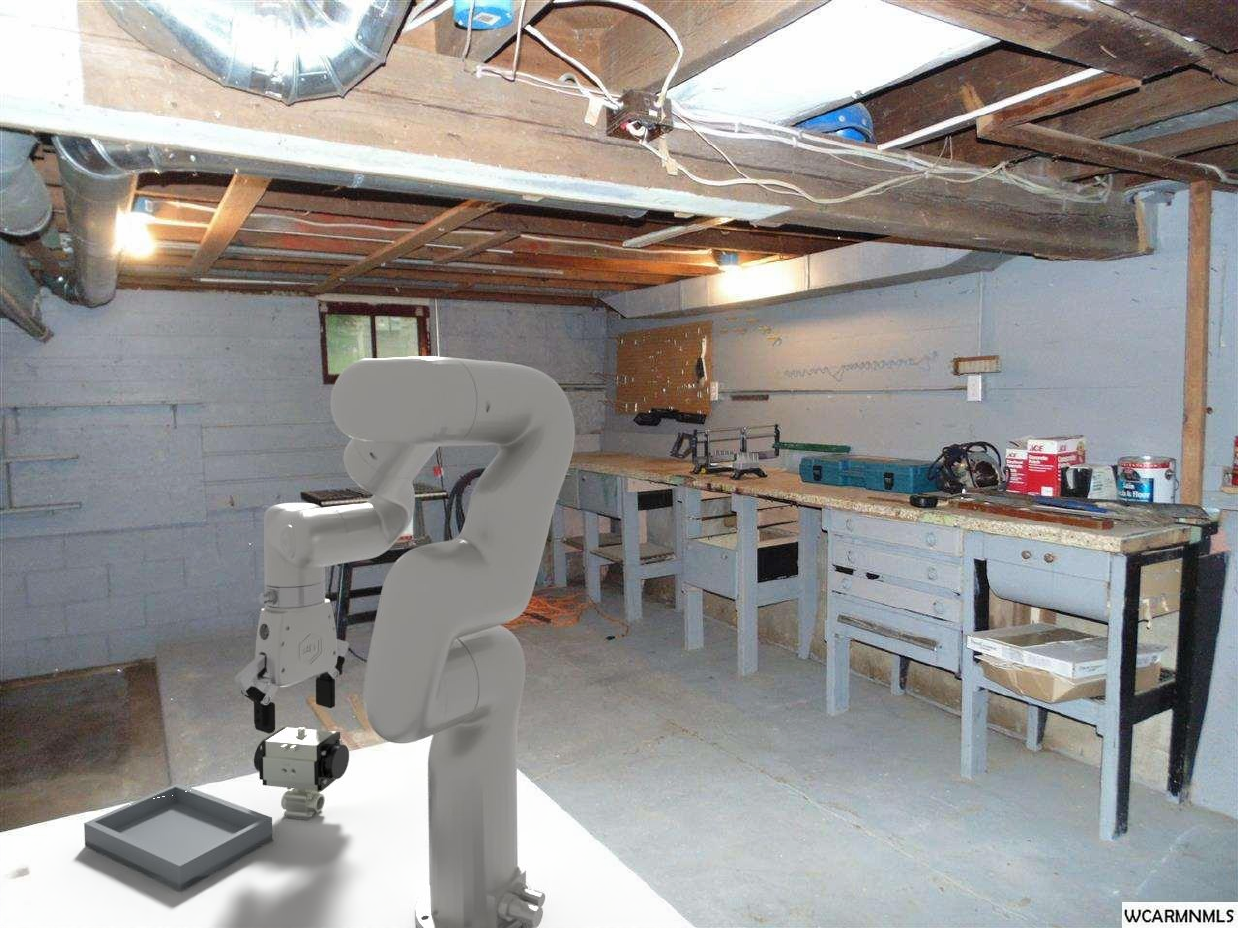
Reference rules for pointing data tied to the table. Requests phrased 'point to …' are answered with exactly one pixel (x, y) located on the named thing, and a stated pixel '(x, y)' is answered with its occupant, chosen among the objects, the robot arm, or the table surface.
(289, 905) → the table surface
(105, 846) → the parts tray
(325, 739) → the pneumatic valve
